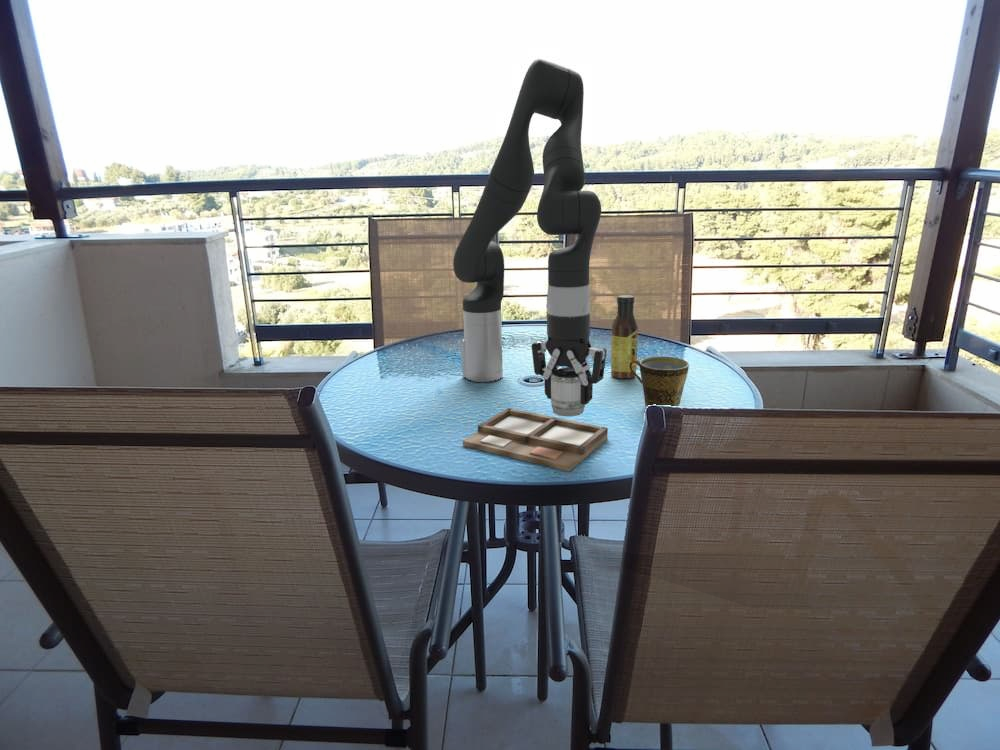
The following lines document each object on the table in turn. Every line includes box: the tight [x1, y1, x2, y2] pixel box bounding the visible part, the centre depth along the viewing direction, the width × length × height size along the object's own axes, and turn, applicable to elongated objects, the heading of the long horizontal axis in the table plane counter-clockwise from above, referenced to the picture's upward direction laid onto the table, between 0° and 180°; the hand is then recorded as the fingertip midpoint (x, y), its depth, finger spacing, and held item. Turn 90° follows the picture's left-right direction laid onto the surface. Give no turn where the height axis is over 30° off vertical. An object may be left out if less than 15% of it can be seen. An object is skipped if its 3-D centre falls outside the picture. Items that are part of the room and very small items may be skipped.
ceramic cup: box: [630, 355, 690, 407], centre depth 132 cm, size 13×10×10 cm
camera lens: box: [550, 366, 586, 418], centre depth 113 cm, size 6×6×8 cm
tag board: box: [462, 407, 609, 473], centre depth 117 cm, size 22×16×2 cm
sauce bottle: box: [610, 294, 639, 380], centre depth 151 cm, size 6×6×20 cm
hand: (567, 400), depth 114 cm, fingers closed on camera lens, 6 cm apart
